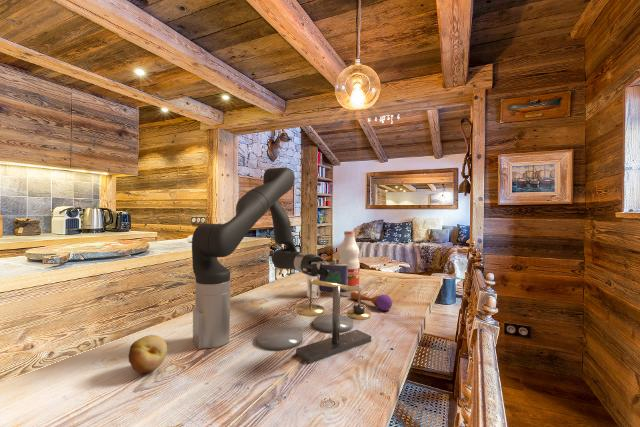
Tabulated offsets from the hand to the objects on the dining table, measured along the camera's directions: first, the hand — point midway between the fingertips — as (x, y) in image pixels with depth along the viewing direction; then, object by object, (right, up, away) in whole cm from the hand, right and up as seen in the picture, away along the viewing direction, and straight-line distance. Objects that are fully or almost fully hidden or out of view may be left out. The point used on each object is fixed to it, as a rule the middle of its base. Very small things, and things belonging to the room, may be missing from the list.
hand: (338, 272), depth 99 cm
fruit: (-45, -18, -28) cm, 56 cm away
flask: (-1, -7, +2) cm, 7 cm away
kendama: (+14, -18, +24) cm, 33 cm away
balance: (-2, -18, -15) cm, 23 cm away
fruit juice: (+7, -17, +39) cm, 43 cm away
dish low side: (-2, -18, +2) cm, 18 cm away
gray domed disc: (-17, -18, -10) cm, 27 cm away
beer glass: (-9, -17, +34) cm, 39 cm away
